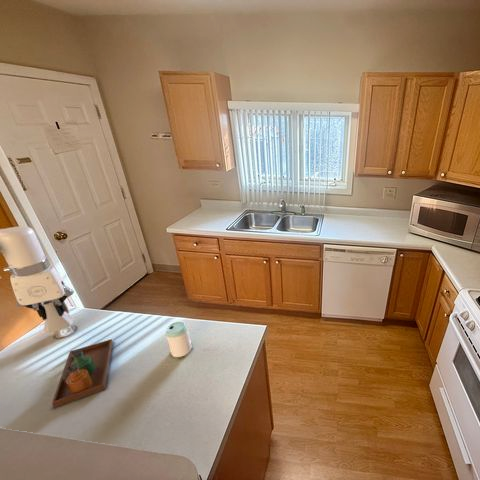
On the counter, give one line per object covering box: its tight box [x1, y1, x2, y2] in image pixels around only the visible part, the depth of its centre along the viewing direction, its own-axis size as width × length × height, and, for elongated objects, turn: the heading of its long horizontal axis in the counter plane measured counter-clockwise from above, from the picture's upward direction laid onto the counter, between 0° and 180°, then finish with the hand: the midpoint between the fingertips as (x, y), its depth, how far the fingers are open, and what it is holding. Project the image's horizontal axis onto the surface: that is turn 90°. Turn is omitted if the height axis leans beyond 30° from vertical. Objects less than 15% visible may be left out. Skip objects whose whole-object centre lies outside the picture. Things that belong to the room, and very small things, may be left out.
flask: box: [41, 300, 74, 334], centre depth 83 cm, size 7×7×10 cm
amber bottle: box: [66, 364, 93, 394], centre depth 81 cm, size 5×5×9 cm
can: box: [165, 321, 193, 358], centre depth 96 cm, size 7×7×12 cm
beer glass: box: [53, 301, 76, 339], centre depth 101 cm, size 7×7×15 cm
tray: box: [51, 339, 114, 408], centre depth 88 cm, size 22×12×2 cm, turn 31°
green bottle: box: [71, 348, 96, 375], centre depth 86 cm, size 5×5×9 cm
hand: (54, 314), depth 84 cm, fingers closed on flask, 3 cm apart
